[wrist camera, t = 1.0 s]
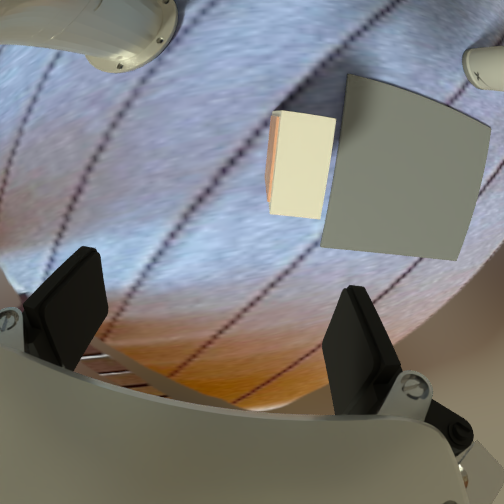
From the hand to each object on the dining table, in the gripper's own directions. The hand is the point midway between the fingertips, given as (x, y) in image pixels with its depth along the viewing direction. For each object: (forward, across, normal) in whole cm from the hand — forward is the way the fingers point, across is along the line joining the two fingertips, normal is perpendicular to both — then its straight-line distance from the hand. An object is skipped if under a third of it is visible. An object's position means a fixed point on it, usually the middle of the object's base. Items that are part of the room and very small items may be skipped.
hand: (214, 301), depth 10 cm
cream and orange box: (+25, -4, -4) cm, 25 cm away
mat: (+25, -22, -4) cm, 33 cm away
